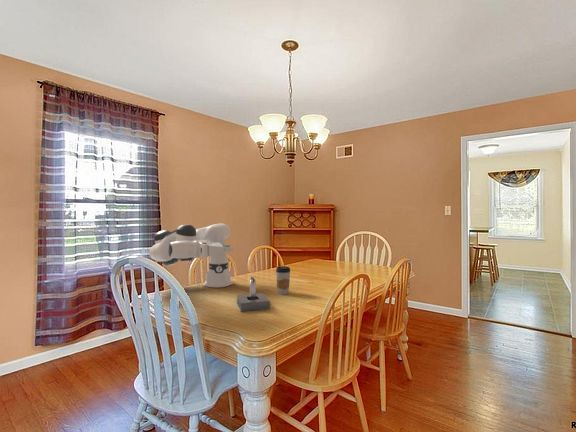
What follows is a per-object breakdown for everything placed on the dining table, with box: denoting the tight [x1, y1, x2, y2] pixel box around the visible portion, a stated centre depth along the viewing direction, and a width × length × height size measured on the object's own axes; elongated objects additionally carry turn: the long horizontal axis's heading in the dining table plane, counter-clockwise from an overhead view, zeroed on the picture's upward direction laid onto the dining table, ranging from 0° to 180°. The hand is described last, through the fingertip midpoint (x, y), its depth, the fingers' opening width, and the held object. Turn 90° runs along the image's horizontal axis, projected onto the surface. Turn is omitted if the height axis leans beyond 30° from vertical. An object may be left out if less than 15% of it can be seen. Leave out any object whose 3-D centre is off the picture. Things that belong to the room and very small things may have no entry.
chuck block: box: [236, 293, 271, 313], centre depth 155 cm, size 14×14×4 cm
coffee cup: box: [275, 265, 291, 296], centre depth 178 cm, size 8×8×15 cm
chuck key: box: [249, 276, 257, 300], centre depth 155 cm, size 5×3×14 cm, turn 17°
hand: (231, 247), depth 158 cm, fingers open, 8 cm apart
